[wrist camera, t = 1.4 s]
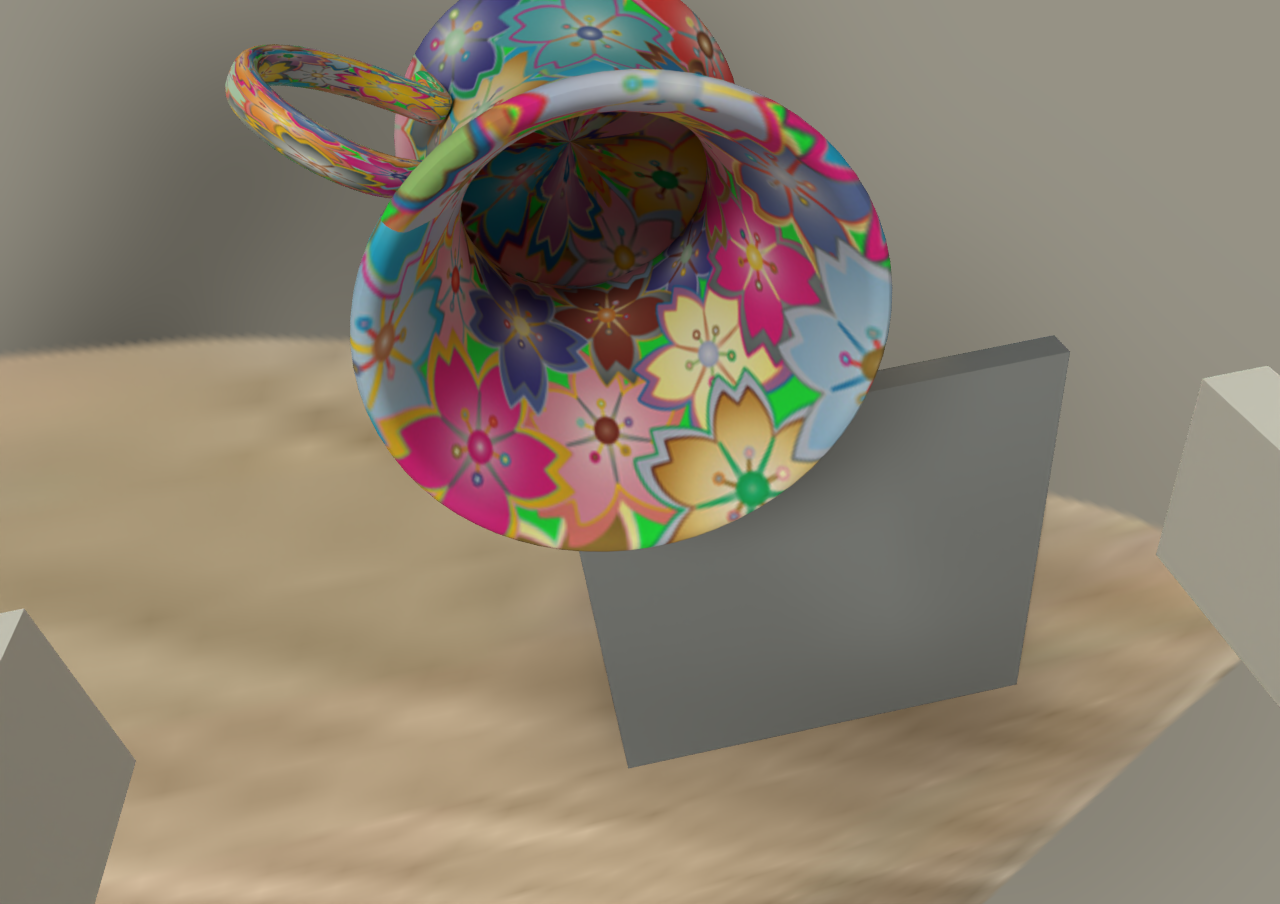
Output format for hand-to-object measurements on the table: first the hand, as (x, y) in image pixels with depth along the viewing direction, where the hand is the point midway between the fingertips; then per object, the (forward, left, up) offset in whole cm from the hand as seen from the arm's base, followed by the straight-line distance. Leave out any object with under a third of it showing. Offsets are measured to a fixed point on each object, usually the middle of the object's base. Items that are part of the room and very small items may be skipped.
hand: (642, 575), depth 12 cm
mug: (0, 0, -17) cm, 17 cm away
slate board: (+7, -18, -17) cm, 26 cm away
